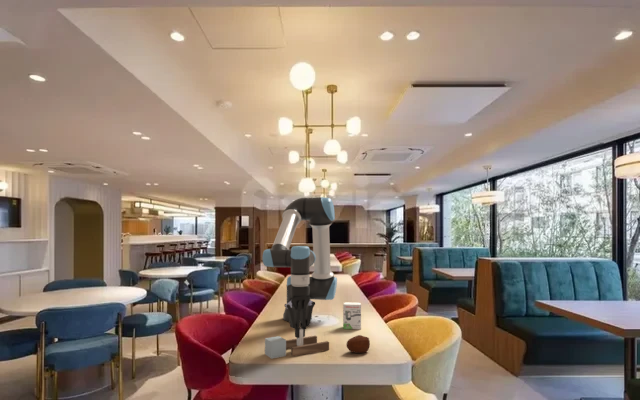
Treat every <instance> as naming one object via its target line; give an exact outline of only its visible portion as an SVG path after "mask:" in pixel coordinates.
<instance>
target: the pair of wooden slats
mask: <svg viewBox="0 0 640 400" xmlns="http://www.w3.org/2000/svg"><path fill="white" fill-rule="evenodd" d="M285 340H286V350H290V356H291V357H299V356H303V355H309V354H314V353H319V352H325V351H330V342H329V341H327V340H326V341H321V342H318V336H317V335H311V336H305V337H303V345H302V346H298V345H297V338H291V339H285Z"/></svg>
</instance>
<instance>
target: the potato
mask: <svg viewBox="0 0 640 400" xmlns="http://www.w3.org/2000/svg"><path fill="white" fill-rule="evenodd" d="M370 341H371V340H370V338H369V337H367V336H364V335H361V334H360V335H356V336H352V337H351V338H349V339H348V340H347V341H346V345H345V346H346V348H347V350H348V351H349V352H351V353H357V354H364V353H367V352H368V351H369V349H370V347H371V343H370Z"/></svg>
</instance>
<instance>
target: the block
mask: <svg viewBox="0 0 640 400" xmlns="http://www.w3.org/2000/svg"><path fill="white" fill-rule="evenodd" d="M286 340H287V339H286V338H283V337H281V336H280V335H279V336H277V335H276V336H271V337H265V338H264V355H265V356H267V357H268V358H270V359H277V358H282V357H286V356H287V349H286Z"/></svg>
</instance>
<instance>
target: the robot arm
mask: <svg viewBox="0 0 640 400" xmlns="http://www.w3.org/2000/svg"><path fill="white" fill-rule="evenodd" d="M335 212H336V211H335V205H334V202H333V200H332V198H330V197H323V196H321V197H301V198H297V199H295V200H293V201H292V202H291V203H289V204H288V205H287V206H286V208H285V209H284V210H283V213H282V214H281V215H282V216H281V218H282V221H281V223H280V225H279V228H278V231H277V234H276V235H275V239H274V242H273V244H272V246H271V248H267V249H264V250H263V251H262V252H263V253H262V264H263V265H264V266H265V267H271V268H290V275H289V276H288V277H287V279H286V303H284V307H285V309H284V310H283V314H282V315H283V317H282V319H283V320H284V321H286V322H289V326H290V328H292V329H294V337H295V339H297V345H298V346H302V345H303V337H306V329H307V328H308V327H310V324H311V320H313V316H312V315H313V309H314V307H315V305H316V301H313V300H319V301H320V300H322V301H331V300H332V301H333V300H334V299H335V296H336V292H337V285H338V278H337V277H336V276H335V274H334V272H333V271H332V270H331V268H332V267H331V245H330V244H331V242H330V240H331V239H330V226H331V225H332V224H333V222H334V221H335V220H336V219H335V217H336V215H335ZM301 221H308V223H309V226H311V228H312V250H311V249H310V247H309V246H306V245H296V246H295V245H294V246H292V247H291V244H292V240H293V238H294V235H295V232H296V230H297V227H298V225H299V224H300V223H302V222H301ZM290 247H291V249H290ZM312 266H313V270H314V271H313V272H312V273H311V276H310V267H312Z"/></svg>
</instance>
